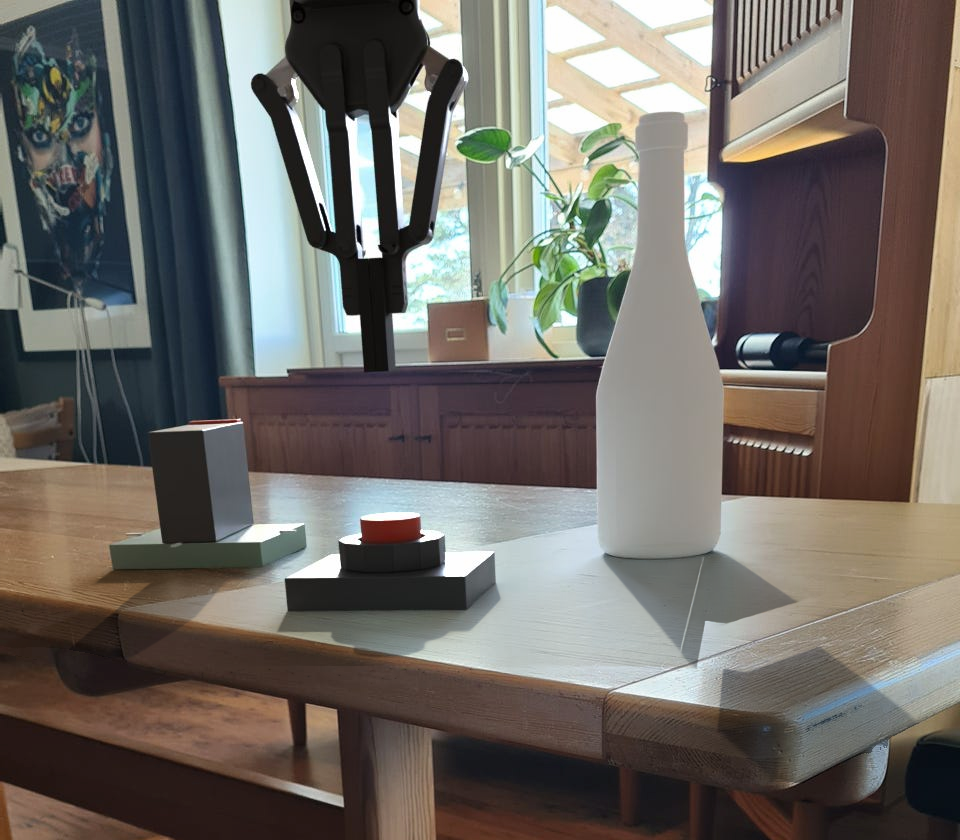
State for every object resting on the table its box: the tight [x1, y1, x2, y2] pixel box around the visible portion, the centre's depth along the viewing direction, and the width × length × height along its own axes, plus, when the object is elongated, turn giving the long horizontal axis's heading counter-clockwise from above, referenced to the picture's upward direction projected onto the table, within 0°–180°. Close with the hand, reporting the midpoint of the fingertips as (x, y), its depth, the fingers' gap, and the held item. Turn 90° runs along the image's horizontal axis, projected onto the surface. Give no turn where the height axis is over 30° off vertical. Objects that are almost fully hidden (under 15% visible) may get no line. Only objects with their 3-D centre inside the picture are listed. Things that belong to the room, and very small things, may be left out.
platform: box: [108, 523, 308, 571], centre depth 108 cm, size 15×15×2 cm
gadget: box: [147, 418, 255, 543], centre depth 106 cm, size 11×4×9 cm, turn 174°
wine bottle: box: [595, 111, 725, 560], centre depth 95 cm, size 10×10×30 cm
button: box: [359, 512, 422, 542], centre depth 85 cm, size 4×4×2 cm
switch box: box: [284, 529, 497, 612], centre depth 86 cm, size 12×10×4 cm
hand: (380, 371), depth 82 cm, fingers closed
